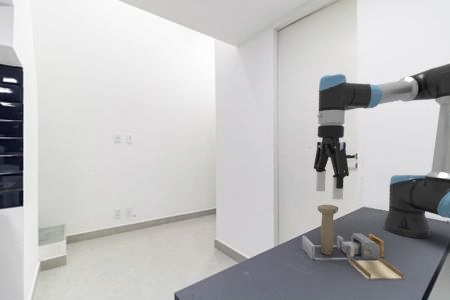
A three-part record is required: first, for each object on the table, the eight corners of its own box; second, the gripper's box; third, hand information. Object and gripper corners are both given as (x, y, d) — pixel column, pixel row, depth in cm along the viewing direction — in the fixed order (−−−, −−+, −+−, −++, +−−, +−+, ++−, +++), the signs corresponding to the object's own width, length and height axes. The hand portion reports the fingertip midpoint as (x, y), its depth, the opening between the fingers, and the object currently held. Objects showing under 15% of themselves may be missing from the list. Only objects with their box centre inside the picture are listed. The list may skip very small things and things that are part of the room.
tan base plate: (380, 261, 71) (381, 256, 71) (404, 279, 62) (405, 273, 62) (348, 261, 70) (348, 256, 70) (367, 279, 61) (367, 273, 61)
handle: (339, 254, 75) (341, 207, 74) (325, 258, 72) (326, 210, 72) (327, 248, 79) (329, 204, 79) (313, 251, 77) (314, 205, 76)
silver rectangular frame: (338, 246, 80) (339, 235, 80) (354, 260, 71) (355, 247, 71) (301, 246, 80) (301, 235, 80) (312, 260, 71) (312, 247, 71)
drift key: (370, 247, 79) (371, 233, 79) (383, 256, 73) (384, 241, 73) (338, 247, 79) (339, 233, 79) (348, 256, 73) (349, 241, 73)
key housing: (364, 248, 80) (365, 233, 80) (379, 258, 73) (380, 242, 72) (350, 248, 80) (351, 233, 79) (363, 258, 72) (364, 242, 72)
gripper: (305, 127, 86) (303, 187, 86) (338, 121, 63) (335, 204, 63) (325, 127, 86) (323, 187, 87) (365, 122, 63) (362, 204, 64)
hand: (328, 194), depth 75 cm, fingers open, 10 cm apart
